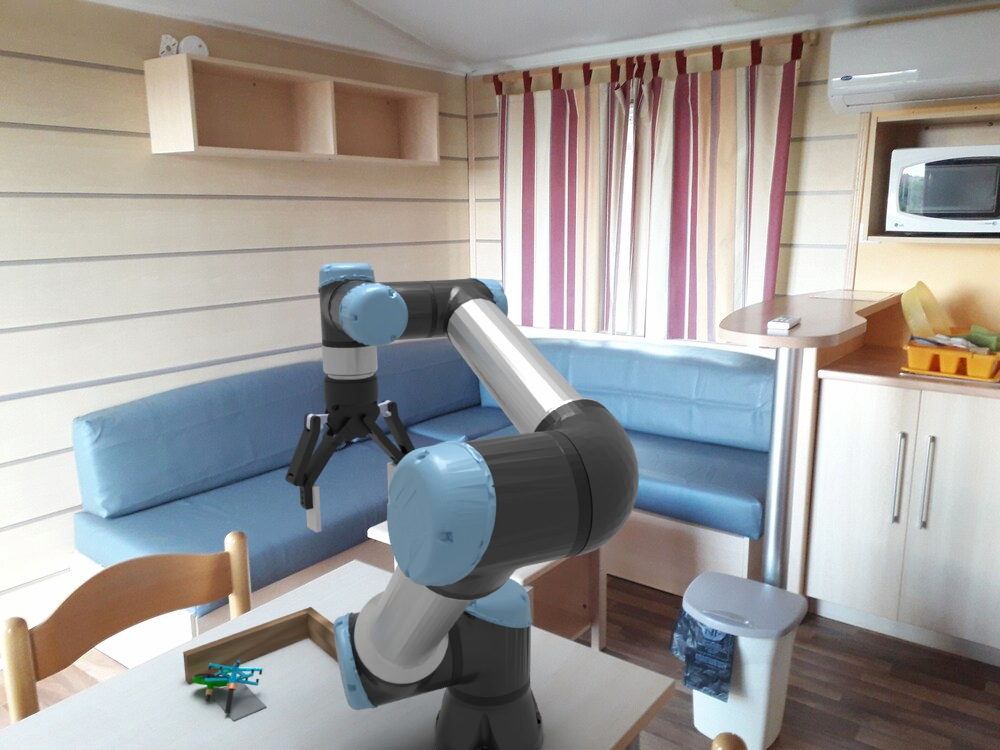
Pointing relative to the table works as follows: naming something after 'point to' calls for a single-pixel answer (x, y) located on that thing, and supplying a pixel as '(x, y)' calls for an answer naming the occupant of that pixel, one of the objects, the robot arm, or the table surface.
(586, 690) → the table surface
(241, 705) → the pad
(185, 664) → the wooden corner wall
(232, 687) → the stick construction toy
